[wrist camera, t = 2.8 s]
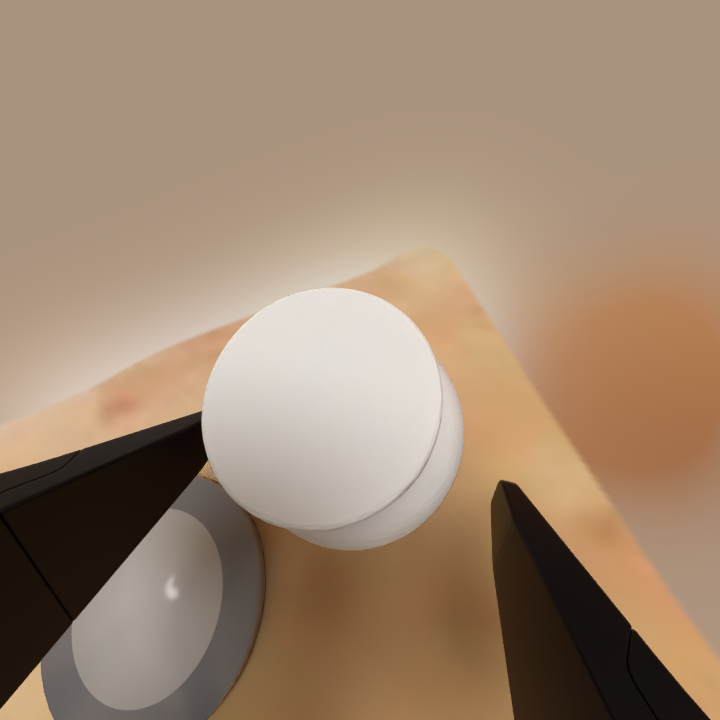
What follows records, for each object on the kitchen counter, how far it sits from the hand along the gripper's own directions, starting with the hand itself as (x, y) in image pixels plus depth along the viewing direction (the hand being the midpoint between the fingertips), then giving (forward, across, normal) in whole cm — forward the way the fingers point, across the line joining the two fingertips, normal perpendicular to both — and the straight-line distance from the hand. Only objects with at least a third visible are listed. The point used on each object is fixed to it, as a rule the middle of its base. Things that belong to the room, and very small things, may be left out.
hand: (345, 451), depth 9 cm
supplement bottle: (+7, 0, +6) cm, 9 cm away
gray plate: (-1, +10, +13) cm, 16 cm away
